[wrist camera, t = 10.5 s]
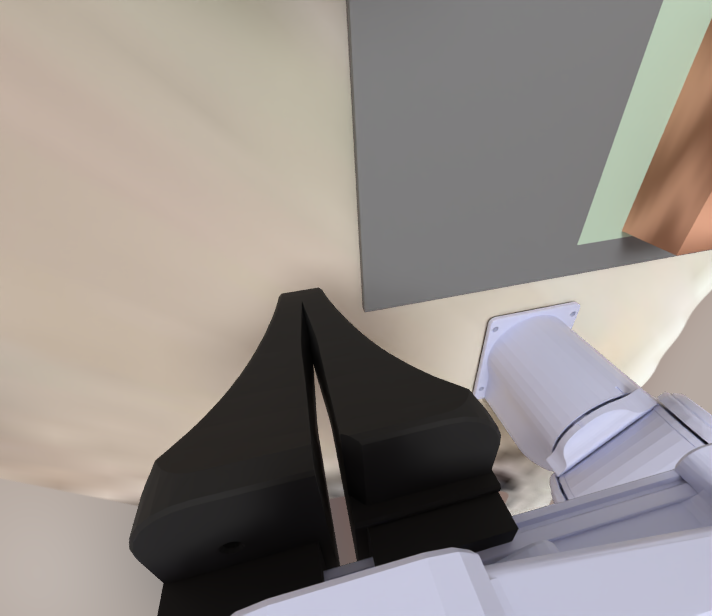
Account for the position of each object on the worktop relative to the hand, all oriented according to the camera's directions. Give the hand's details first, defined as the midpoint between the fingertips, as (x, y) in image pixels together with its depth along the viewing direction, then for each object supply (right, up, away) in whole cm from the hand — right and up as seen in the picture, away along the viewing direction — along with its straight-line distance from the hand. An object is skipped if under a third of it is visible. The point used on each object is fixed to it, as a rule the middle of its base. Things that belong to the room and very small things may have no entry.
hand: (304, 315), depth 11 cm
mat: (+16, +10, +9) cm, 21 cm away
